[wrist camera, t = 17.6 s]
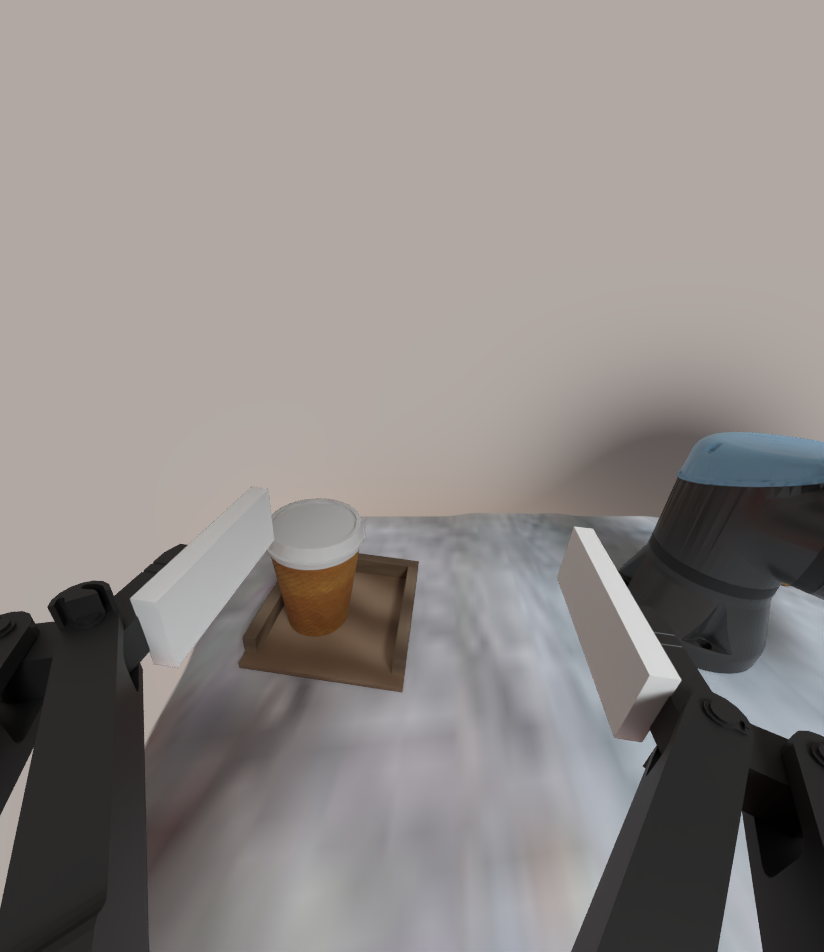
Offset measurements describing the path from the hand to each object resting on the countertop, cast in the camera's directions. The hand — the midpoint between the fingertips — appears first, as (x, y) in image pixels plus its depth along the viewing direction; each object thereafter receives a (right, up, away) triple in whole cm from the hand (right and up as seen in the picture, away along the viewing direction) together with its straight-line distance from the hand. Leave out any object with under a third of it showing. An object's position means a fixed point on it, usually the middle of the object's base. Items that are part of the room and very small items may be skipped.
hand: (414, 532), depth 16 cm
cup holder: (-8, -13, +25) cm, 29 cm away
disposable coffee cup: (-10, -13, +24) cm, 29 cm away
